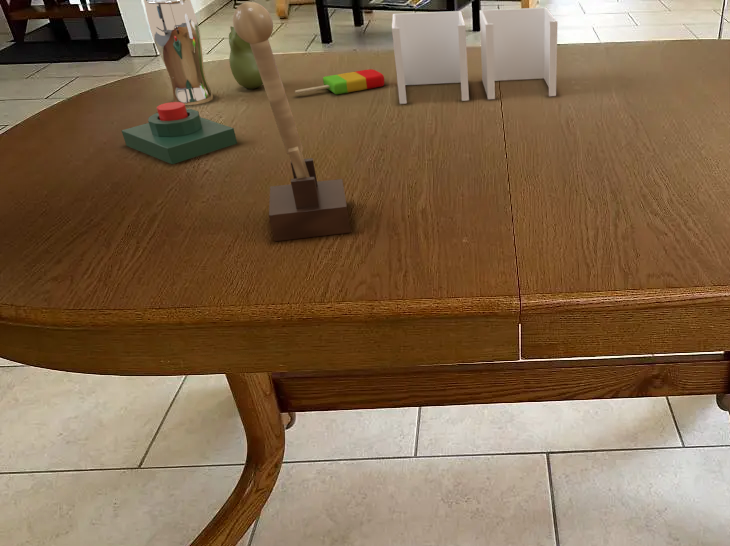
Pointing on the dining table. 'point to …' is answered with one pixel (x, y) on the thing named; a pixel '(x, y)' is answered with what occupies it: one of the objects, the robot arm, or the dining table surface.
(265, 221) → the dining table surface
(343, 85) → the popsicle
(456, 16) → the twin white cubbies
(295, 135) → the wooden rod
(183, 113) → the button
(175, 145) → the button box
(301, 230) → the holder
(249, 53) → the pear
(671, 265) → the dining table surface
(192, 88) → the beer glass
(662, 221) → the dining table surface
